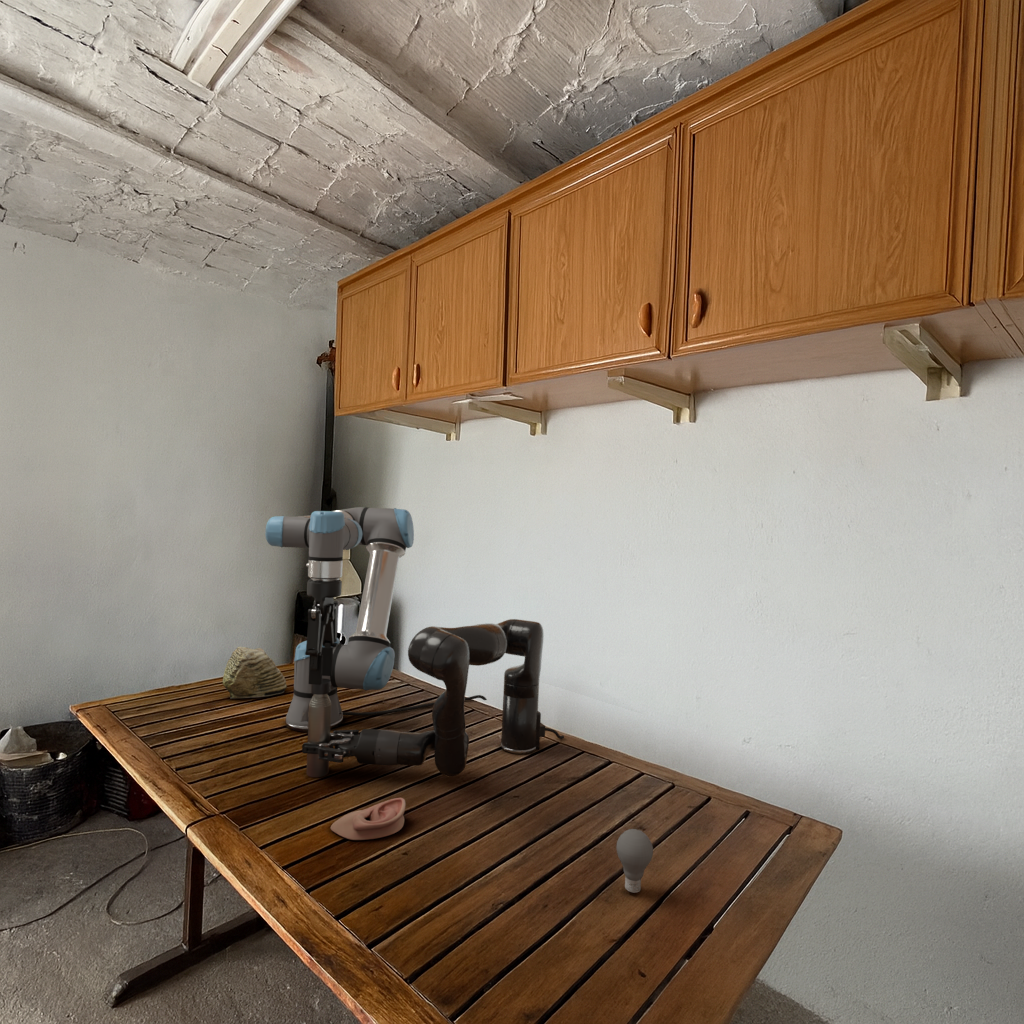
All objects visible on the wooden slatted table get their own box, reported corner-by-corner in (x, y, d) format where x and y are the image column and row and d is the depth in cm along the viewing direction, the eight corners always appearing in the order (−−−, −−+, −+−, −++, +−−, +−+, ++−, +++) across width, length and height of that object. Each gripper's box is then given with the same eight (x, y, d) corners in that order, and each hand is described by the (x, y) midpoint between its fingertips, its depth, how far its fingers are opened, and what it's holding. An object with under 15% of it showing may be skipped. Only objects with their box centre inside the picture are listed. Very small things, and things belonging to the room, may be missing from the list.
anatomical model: (323, 814, 118) (350, 787, 130) (322, 835, 118) (350, 806, 130) (389, 824, 116) (412, 796, 127) (389, 846, 116) (411, 816, 127)
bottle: (302, 776, 143) (306, 684, 143) (312, 767, 148) (315, 679, 148) (323, 778, 142) (326, 686, 142) (332, 769, 147) (335, 680, 147)
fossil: (218, 695, 195) (220, 647, 195) (278, 685, 208) (279, 640, 207) (228, 703, 189) (230, 653, 188) (289, 692, 201) (290, 645, 201)
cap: (307, 693, 143) (308, 682, 143) (316, 688, 147) (316, 677, 147) (325, 695, 142) (325, 684, 142) (333, 690, 147) (333, 679, 147)
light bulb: (610, 879, 108) (613, 822, 108) (644, 879, 109) (647, 822, 109) (619, 902, 102) (622, 840, 102) (655, 901, 103) (658, 840, 103)
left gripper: (322, 573, 154) (319, 667, 154) (292, 583, 135) (287, 691, 135) (353, 575, 154) (349, 669, 154) (327, 584, 134) (322, 693, 135)
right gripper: (388, 720, 152) (318, 716, 152) (373, 742, 137) (296, 738, 138) (387, 751, 152) (316, 747, 152) (372, 777, 138) (294, 772, 138)
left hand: (320, 679), depth 144 cm, fingers open, 6 cm apart
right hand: (307, 743), depth 145 cm, fingers closed on bottle, 5 cm apart
